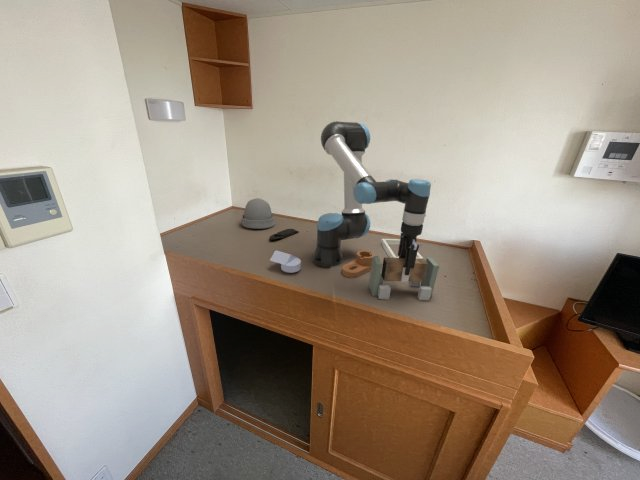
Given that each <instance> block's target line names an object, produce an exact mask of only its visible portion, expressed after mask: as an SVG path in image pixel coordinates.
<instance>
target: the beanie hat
mask: <svg viewBox="0 0 640 480" xmlns="http://www.w3.org/2000/svg"><path fill="white" fill-rule="evenodd" d="M275 225H276V222H275V218H274V214H273V213H272V208H271V206H270V204H269V203H268V201H266V200H264V199H262V198H260V197H259V198H257V197H256V198H253V199H250V200H248V201H247V203H246V204H245V207H244V211H243V214H242V215H241V226H243V228H247V229H252V230H253V229H259V230H260V229H261V230H262V229H269V228H272V227H274V226H275Z"/></svg>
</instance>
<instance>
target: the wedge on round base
mask: <svg viewBox="0 0 640 480" xmlns="http://www.w3.org/2000/svg"><path fill="white" fill-rule="evenodd" d="M269 261H270V262H274V263H276V264H280V268H281V271H283V272H284V273H292V274H293V273H297V272H299V271H300V270H301V267H302V266H301V265H302V260H301V259H300V258H298V257H296V256H294V255H293V254H290V253H286V252H283V251H280V250H274V252H273V254H272V256H271V257H270V259H269Z"/></svg>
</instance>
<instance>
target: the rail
mask: <svg viewBox="0 0 640 480" xmlns="http://www.w3.org/2000/svg"><path fill="white" fill-rule="evenodd" d="M423 258H424V257H423ZM423 258H422V259H421V258H416V261H415V266H414V268H411V270H410V275H409V280H408V282H409V281H412V282H424V279H425V275H426V270H427V266H428V263H427V262H426V260H425V258H424V259H423ZM403 266H405V258H390V257H383V260H382V269H381V276H382V278H383V282H401V277H402V271H403Z"/></svg>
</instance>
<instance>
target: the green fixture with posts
mask: <svg viewBox="0 0 640 480" xmlns="http://www.w3.org/2000/svg"><path fill="white" fill-rule="evenodd" d="M425 259H426V260H425V261H426V262H427V263H428V266H427V270H426V275H425V279H424V282H412V281H408V285H409V286H410V287H419V288H418V293H417V298H418V299H417V300H418V301H430V298H431V297H433V292H434V288H435V285H436V280H437V277H438V272H439V268H440V265H439V264H438V263H437V262H436V260H434V258H433V257H426V258H425ZM382 266H383V262H382V261H381V259H380V257H379V256H378V255H375V256H373V260H372V267H371V270H370V274H369V275H370V277H369V284H368V287H369V290H370V293H371V295H372V296H377V298H378V300H390V295H391V291H392V289H391V285H387V284H385V285H384V280H383V278H382V276H381V273H382Z"/></svg>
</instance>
